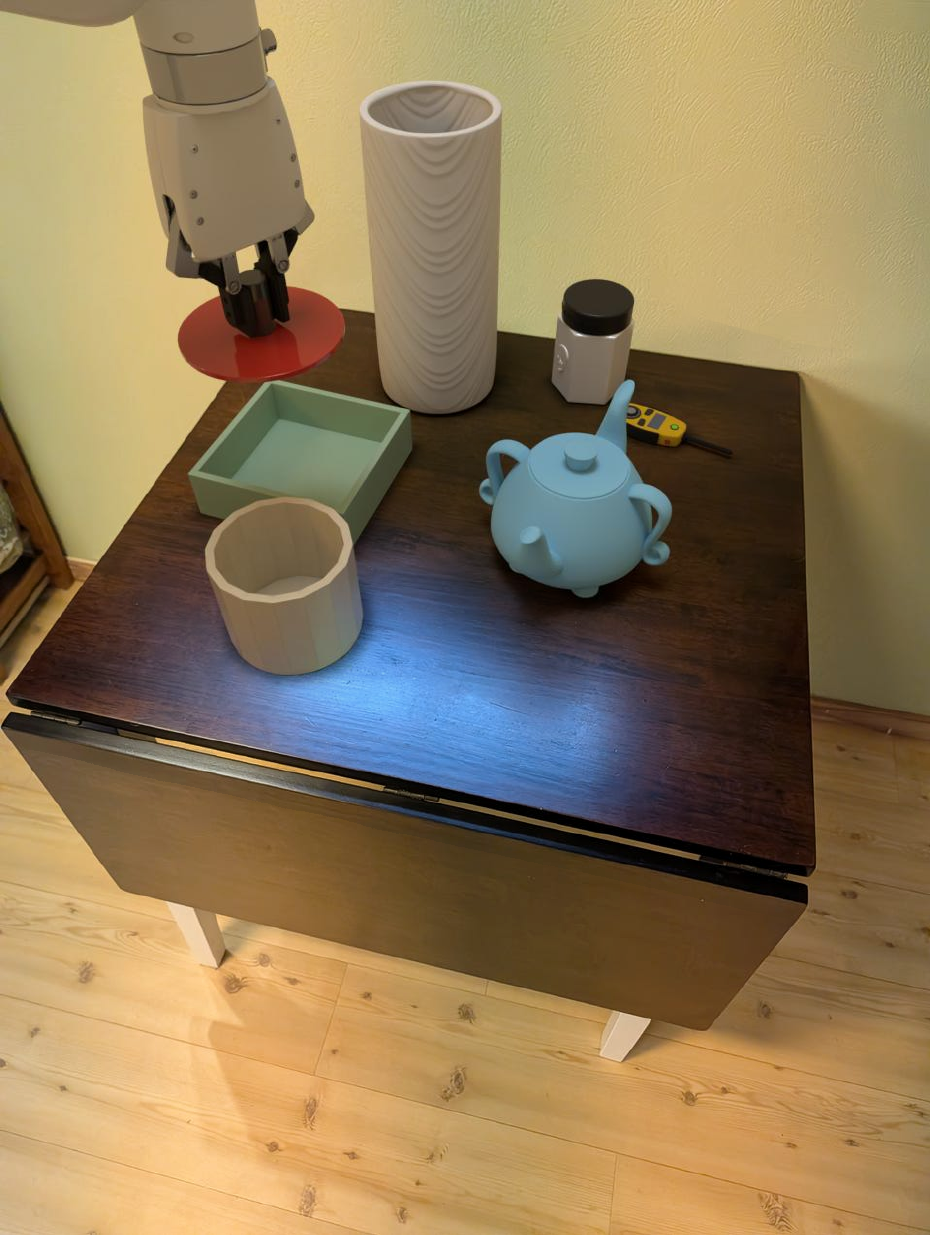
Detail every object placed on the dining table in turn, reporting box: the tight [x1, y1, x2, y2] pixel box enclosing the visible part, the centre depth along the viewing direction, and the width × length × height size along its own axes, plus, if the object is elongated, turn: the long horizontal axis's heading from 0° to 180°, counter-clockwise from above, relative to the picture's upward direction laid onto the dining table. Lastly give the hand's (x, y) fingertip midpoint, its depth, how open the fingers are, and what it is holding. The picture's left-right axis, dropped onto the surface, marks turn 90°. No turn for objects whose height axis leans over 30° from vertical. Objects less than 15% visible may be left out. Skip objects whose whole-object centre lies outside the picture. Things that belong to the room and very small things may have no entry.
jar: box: [551, 278, 635, 406], centre depth 101 cm, size 9×8×12 cm
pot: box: [204, 496, 364, 676], centre depth 77 cm, size 13×13×10 cm
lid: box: [177, 269, 346, 384], centre depth 68 cm, size 14×14×6 cm
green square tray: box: [187, 380, 413, 547], centre depth 92 cm, size 18×18×6 cm
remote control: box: [626, 402, 734, 456], centre depth 98 cm, size 5×2×15 cm
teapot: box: [478, 379, 673, 598], centre depth 82 cm, size 16×20×14 cm
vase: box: [358, 80, 503, 415], centre depth 93 cm, size 14×14×32 cm
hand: (260, 321), depth 69 cm, fingers closed on lid, 2 cm apart
